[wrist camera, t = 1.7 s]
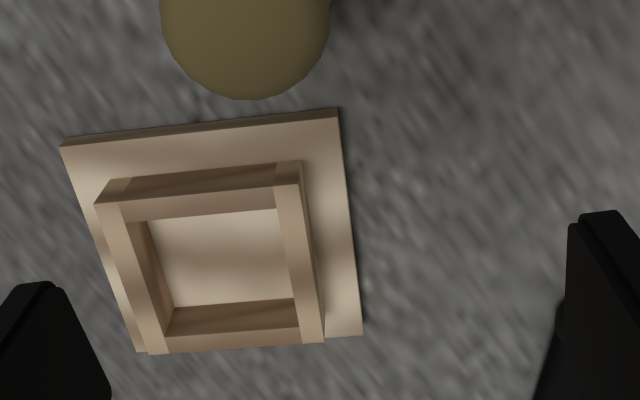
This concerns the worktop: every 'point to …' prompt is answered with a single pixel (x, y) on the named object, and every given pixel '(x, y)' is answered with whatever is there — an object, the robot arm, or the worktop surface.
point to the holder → (223, 230)
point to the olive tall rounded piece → (246, 42)
